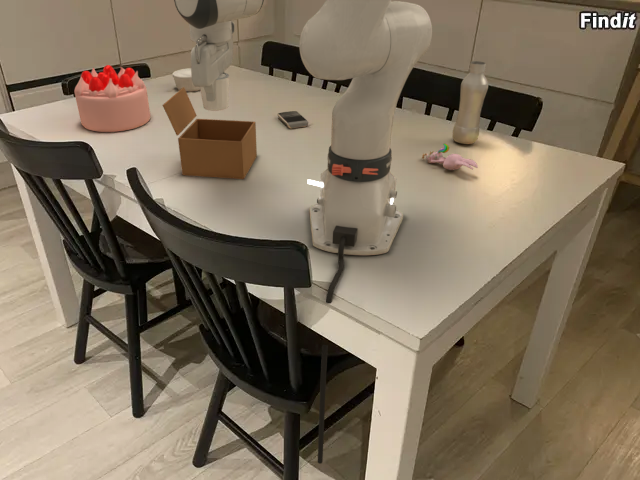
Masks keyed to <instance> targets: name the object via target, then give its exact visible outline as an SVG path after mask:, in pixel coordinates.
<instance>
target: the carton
mask: <svg viewBox="0 0 640 480" xmlns="http://www.w3.org/2000/svg"><path fill="white" fill-rule="evenodd" d="M256 126H257V125H256V121H253V120H251V121H249V120H234V119H233V120H231V119H230V120H229V119H214V118H213V119H212V118H211V119H208V118H195V120H193V122H192V123H190V124H189V125H188V126H187V127H186V129H185V130H184V132H182V133H181V134H180V136H179V137H178V138H177V141H178V143H177V144H178V149H179V158H180V167H181V175H182V176H191V177H202V178H203V177H205V178H217V179H218V178H220V179H221V178H222V179H234V180H245V178H246V176H247V174H248V173H249V171H250V169H251V167H252V166H253V164H254V163H255V160H256V159H257V157H258V155H257V154H258V153H257V152H258V151H257V149H258V148H257V127H256Z"/></svg>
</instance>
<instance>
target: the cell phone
mask: <svg viewBox="0 0 640 480" xmlns="http://www.w3.org/2000/svg"><path fill="white" fill-rule="evenodd" d="M277 117H278V119H279V120H280V121H281V122H282V123H283V124H284V125H285V126H286V127H287V128H288V129H291V130H292V129H297V128H306V127H307V126H308V125H309V120H307V119H306V118H305V116H303V115H302V114H301V113H299V112H298V111H296V110H292V111H283V112H278V113H277Z"/></svg>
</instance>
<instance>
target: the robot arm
mask: <svg viewBox="0 0 640 480" xmlns="http://www.w3.org/2000/svg"><path fill="white" fill-rule="evenodd" d="M264 1H265V0H173V2H174V5H175V8H176V11H177V12H178V14H179V15H180V16H181V18H182V20H183V21H185V22H186V23H188V30H189V31H188V32H189V39H190V41H191V42H193V43H195V46H193V47H192V48H191V51H190V68H191V76H192V83H193V85H194V86H195V87H204V90H205V92H206V99H207V101H214V100H215V92H214V81H215V80H216V79H217V78H218V77H219V76H220V75H221V74H222V73H225V72H226V70H227V69H229V68H230V66H232V65H233V61H234V35H233V34H234V33H235V31H236V24H235V22H234V21H237V20H242V19H247V18H250V17H252V16H256V15H257V14H258V13H259V12H260V11H261V9H262V8H263V6H264ZM432 38H433V25H432V21H431V17H430V15H429V14H428V12H427V10H426V9H425V8H424V7H423V6H421V5H419V4H417V3H414V2H413V3H412V2H407V1H402V0H325V1H324V3H323V4H322V6H321V7H320V8H319V9H318V11H317V12H316V13H315V14H314V15H312V16H311V17H310V18H309V19H308V20H307V21H306V22H305V24H304V26H303V28H302V30H301V33H300V37H299V46H298V47H299V55H300V58H301V59H300V60H301V61H302V64H303V65H304V67H305V69H306V71H307V72H308V73H309V74H310V75H312V77H314V78H315V79H318V80H327V81H345V80H351V82H350V83H349V85H348V88H347V89H346V90H345V91H344V92H343V94H342V95H341V96H340V97H339V98H338V99H337V101H335V103H334V105H333V108H332V112H331V132H330V133H331V135H330V146H329V147H328V152H327V168H326V169H325V170H323V171H322V172H321V173H320V181H317V180H314V179H307V185H312V186H315V187H319V188H320V189H319V197H317V199H316V204H313V205H311V206H310V207H309V211H308V212H309V221H310V223H309V224H310V230H311V231H310V232H311V240H312V241H311V242H312V245H313V247H315V248H317V249H318V250H322V251H325V252H328V253H333V254H337V261H338V262H337V263H338V267H337V270H336V272H335V274H334V276H333V278H332V280H331V281H330V283H329V285H328V289H327V292H326V297H325V303H326V304H332V302H333V297H334V292H335V289H336V286H337V284H338V282H339V281H340V278H341V276H342V274H343V273H344V269H345V259H344V258H345V255H347V256H348V255H349V256H375V255H383V254H386V253H388V252H389V251H390V249H391V247H392V244H393V243H394V240H395V238H396V235H397V233H398V231H399V229H400V226H401V224H402V222H403V220H404V214H403V212H402V211H400V210H398V209H397V205H395V202H396V198H397V196H398V191H397V190H396V189H397V177H395V175H393V173H392V172H391V166H392V160H393V158H392V157H393V156H392V155H393V151H392V148H391V140H392V132H393V126H394V117H395V113H396V108H397V104H398V101H399V99H400V96H401V93H402V91H403V88H404V86H405V84H406V82H407V80H408V78H409V75H410V74H411V72H412V70H413V69H414V67H415V66H416V64H417V63H418V62H419V60H421V59H422V58H423V56H425V54H426V53H427V52H428V50H429V49H430V46H431V42H432ZM328 349H329V344H322V345H321V360H320V361H321V363H320V379H319V381H320V382H319V383H320V384H319V407H318V409H319V410H318V439H317V440H318V442H317V443H318V444H317V463H318V464H320V465H321V464H323V461H324V459H323V458H324V438H325V411H326V391H327V390H326V388H327V387H326V386H327V369H328V352H329V350H328Z"/></svg>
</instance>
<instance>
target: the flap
mask: <svg viewBox="0 0 640 480" xmlns="http://www.w3.org/2000/svg"><path fill="white" fill-rule="evenodd" d="M162 108H163V109H164V112H165V114H166V117H167V118H168V121H169V122H170V124H171V126H172V129H173V132H174V133H175V135H176V136H179V135H181V134H182V133H183V131H185V130H186V129H187V128H188V127H189V125H190V124H191V122H192V121H194V119H196V117H198V116H197V113H196V111H195V109H194V106H193V104H192V101H191V99H190V97H189V94H188V92H186V90H185V88H184V87H183V88H182V89H181V90H179V89H178V91H177V92H176V93H175V94H174V95H172V96H171V97H170V98H169V99H167V101H165V103H163V104H162Z"/></svg>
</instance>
